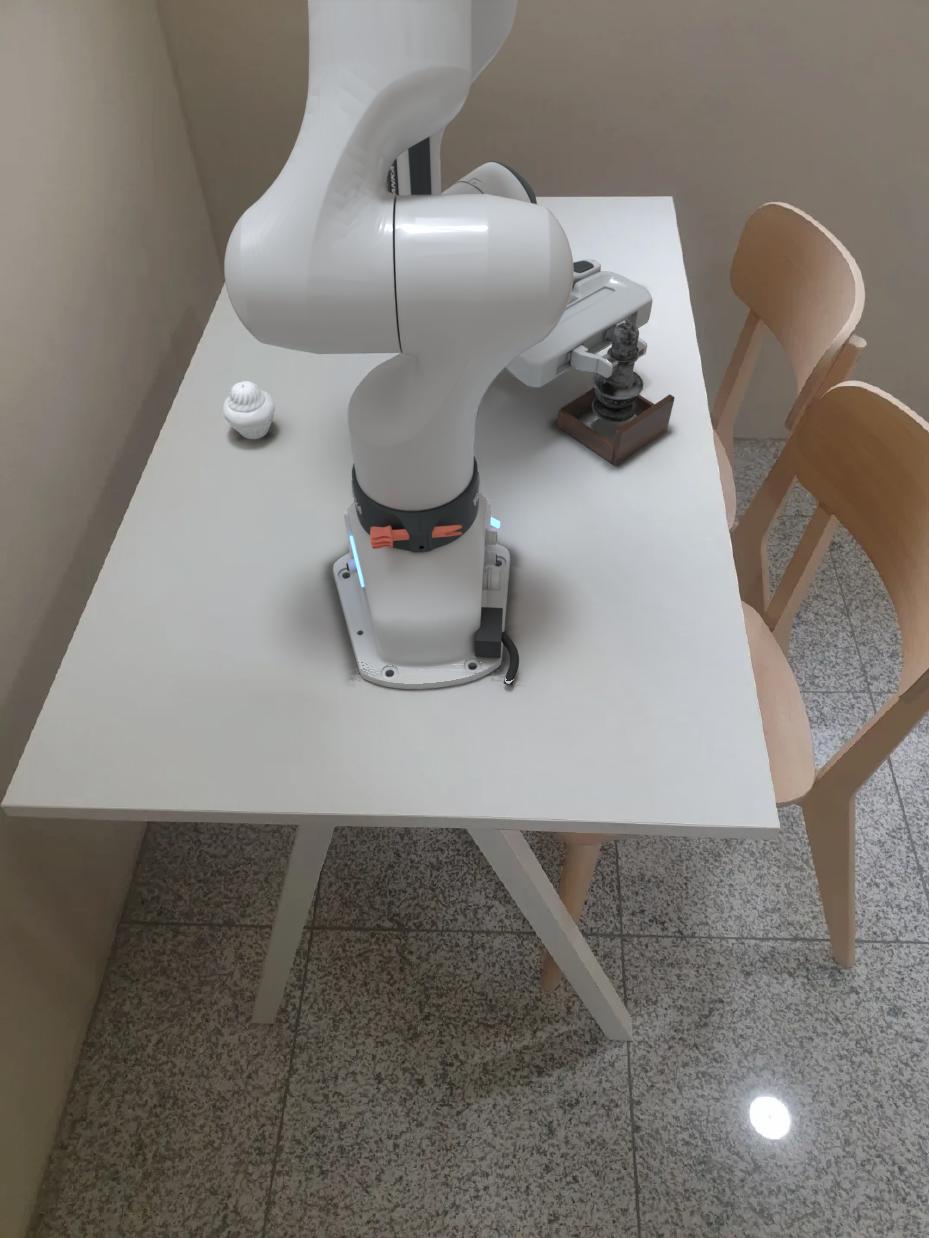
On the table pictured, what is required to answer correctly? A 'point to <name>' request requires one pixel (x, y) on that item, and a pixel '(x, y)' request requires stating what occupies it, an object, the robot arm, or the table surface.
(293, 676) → the table surface
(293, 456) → the table surface
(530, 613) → the table surface
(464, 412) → the robot arm
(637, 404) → the wooden square frame
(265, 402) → the muffin
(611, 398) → the dark grey chess piece
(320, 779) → the table surface
